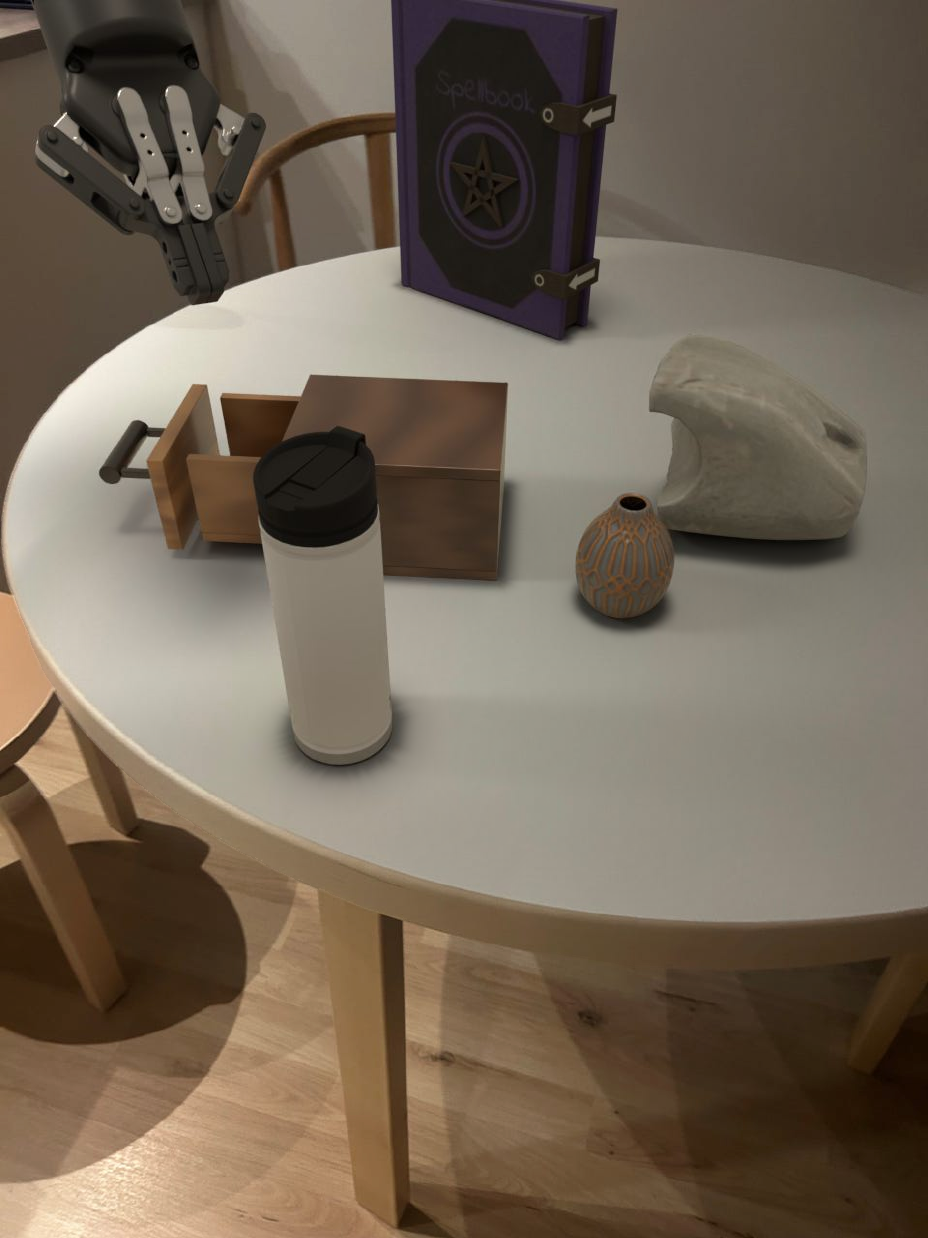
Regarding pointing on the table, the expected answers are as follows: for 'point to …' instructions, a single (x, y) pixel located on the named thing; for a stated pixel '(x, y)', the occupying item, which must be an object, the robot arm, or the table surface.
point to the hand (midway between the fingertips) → (207, 298)
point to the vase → (625, 558)
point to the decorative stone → (754, 447)
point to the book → (502, 153)
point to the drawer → (205, 464)
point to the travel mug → (327, 591)
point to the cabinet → (424, 465)
